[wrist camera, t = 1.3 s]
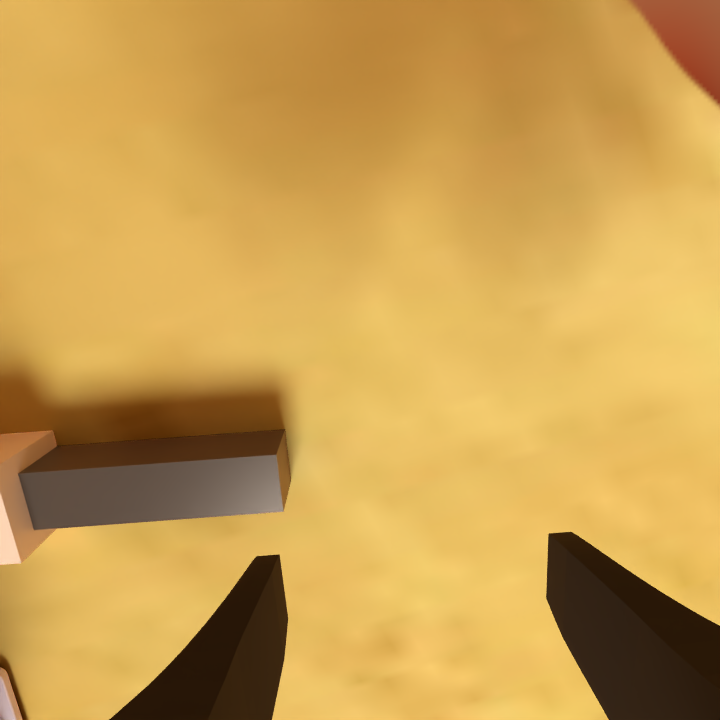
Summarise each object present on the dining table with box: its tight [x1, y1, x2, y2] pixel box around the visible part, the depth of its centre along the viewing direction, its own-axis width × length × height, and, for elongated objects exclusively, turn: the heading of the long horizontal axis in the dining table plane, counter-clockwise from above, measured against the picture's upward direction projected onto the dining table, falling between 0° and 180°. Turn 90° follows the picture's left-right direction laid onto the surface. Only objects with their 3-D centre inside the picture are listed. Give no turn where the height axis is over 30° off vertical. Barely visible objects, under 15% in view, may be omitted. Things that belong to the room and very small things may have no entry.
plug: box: [0, 429, 291, 565], centre depth 19 cm, size 4×14×4 cm, turn 94°
